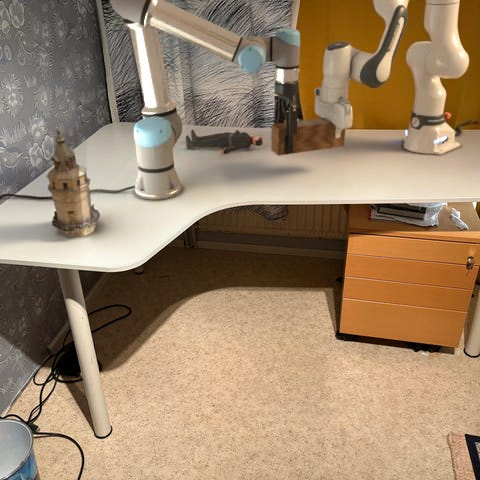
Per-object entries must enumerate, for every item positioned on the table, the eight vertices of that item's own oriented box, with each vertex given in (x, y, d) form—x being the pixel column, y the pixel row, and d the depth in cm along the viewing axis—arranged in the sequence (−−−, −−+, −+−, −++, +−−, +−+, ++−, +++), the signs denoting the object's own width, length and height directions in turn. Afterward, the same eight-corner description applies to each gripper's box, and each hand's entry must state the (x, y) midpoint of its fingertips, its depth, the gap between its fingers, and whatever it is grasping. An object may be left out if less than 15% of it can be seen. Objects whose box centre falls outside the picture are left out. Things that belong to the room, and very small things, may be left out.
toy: (197, 123, 225) (267, 123, 219) (198, 137, 228) (268, 138, 222) (178, 143, 203) (256, 144, 197) (180, 159, 206) (257, 160, 200)
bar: (277, 155, 179) (278, 129, 174) (271, 150, 183) (271, 124, 179) (343, 146, 186) (346, 120, 181) (335, 141, 191) (337, 115, 186)
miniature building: (80, 214, 164) (63, 117, 149) (111, 225, 157) (96, 125, 142) (44, 231, 154) (22, 130, 140) (75, 244, 147) (55, 139, 133)
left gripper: (310, 86, 164) (306, 158, 175) (285, 73, 179) (283, 140, 191) (288, 88, 162) (285, 161, 173) (264, 75, 177) (263, 143, 188)
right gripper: (359, 100, 171) (355, 142, 178) (328, 86, 188) (325, 124, 195) (341, 102, 169) (338, 144, 176) (312, 88, 186) (310, 127, 193)
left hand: (284, 150), depth 182 cm, fingers closed on bar, 6 cm apart
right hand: (331, 134), depth 185 cm, fingers closed on bar, 6 cm apart
